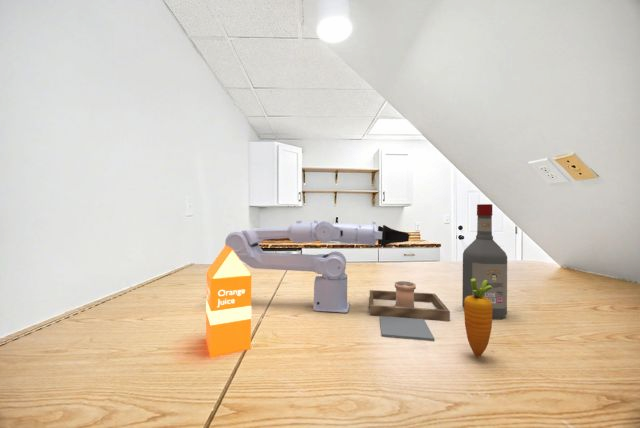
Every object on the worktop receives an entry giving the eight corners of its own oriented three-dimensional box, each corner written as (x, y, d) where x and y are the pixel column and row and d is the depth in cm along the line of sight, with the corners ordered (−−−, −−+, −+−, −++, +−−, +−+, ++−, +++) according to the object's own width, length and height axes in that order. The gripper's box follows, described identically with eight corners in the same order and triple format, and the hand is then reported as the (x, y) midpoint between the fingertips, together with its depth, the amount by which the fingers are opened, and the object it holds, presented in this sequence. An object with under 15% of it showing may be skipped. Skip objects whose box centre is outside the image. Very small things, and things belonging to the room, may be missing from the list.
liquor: (511, 319, 71) (512, 204, 71) (475, 319, 71) (476, 203, 71) (491, 307, 80) (491, 205, 80) (459, 307, 80) (459, 205, 81)
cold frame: (369, 315, 73) (369, 305, 73) (369, 297, 89) (369, 289, 89) (449, 321, 70) (449, 311, 70) (434, 301, 86) (434, 293, 86)
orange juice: (209, 357, 51) (210, 250, 51) (205, 338, 59) (206, 245, 59) (251, 348, 55) (252, 248, 55) (242, 331, 62) (243, 243, 62)
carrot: (484, 351, 54) (485, 275, 54) (498, 365, 49) (499, 281, 49) (458, 349, 55) (459, 274, 55) (469, 363, 50) (470, 280, 50)
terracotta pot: (395, 310, 77) (395, 285, 77) (393, 304, 83) (393, 280, 83) (417, 312, 76) (417, 286, 76) (413, 305, 82) (413, 281, 82)
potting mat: (381, 336, 61) (381, 334, 61) (379, 318, 71) (379, 316, 71) (434, 340, 59) (434, 338, 59) (424, 321, 69) (424, 319, 69)
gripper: (358, 218, 71) (412, 221, 70) (356, 221, 86) (401, 224, 84) (356, 245, 71) (410, 249, 69) (355, 243, 85) (400, 247, 84)
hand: (405, 237), depth 77 cm, fingers open, 7 cm apart
